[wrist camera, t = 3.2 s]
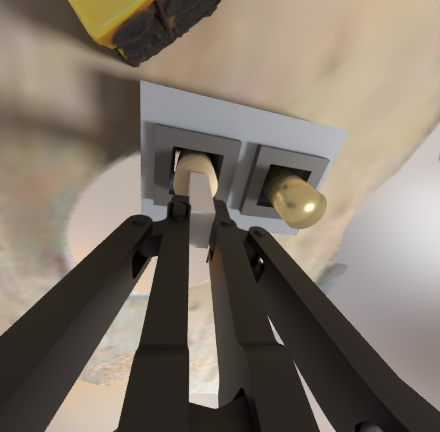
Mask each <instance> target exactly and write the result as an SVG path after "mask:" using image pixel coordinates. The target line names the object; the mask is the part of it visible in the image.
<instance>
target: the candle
mask: <svg viewBox="0 0 440 432" xmlns="http://www.w3.org/2000/svg"><path fill="white" fill-rule="evenodd" d="M68 2H69V4H70V5H71V7H72V8H73V10H74V11H75V13H76V15H77V16H78V18H79V19H80V21H81V23H82V24H83V26H84V28H85V29H86V31H87V32H88V34H89V35H90V36H91V38H92V39H93V40H94V41H95V42H97V43H98V44H99V45H104V46H107V47H109V48H110V49H113V48H114V49H115V50H116V51H117V52H118V55H119V56H121V57H122V59H123V60H124V61H125V62H128V63H129V64H130V65H132V66H133V67H139V65H140V63H141V62H144V61H147V60H148V59H149V58H151V57H152V56H154V55H157V54H158V53H159V52H160V51H161V50H162V49H164V48H165V47H167V46H169V45H170V44H172V43H173V42H174V41H175V40H176V39H177V38H178V37H182V35H183V34H184V33H186V32H188V31H189V29H190V28H191V27H192V26H194V25H195V24H196V23H198V22H199V21H200V20H201V19H202V18H204V17H208V16H211V15H212V13H213V12H214V11H215V10H216V9H217V5H218V4H219V3H220V2H221V0H68Z"/></svg>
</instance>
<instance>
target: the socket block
mask: <svg viewBox="0 0 440 432" xmlns="http://www.w3.org/2000/svg"><path fill="white" fill-rule="evenodd" d="M140 110H141V215H146V216H149V217H150V218H152V220H153V221H161V220H164V219H165V218H166V217H167V205H168V203H169V202H170V201H171V199H172V197H173V196H174V195H176V194H175V192H174V189H173V180H174V175H175V172H174V165H175V153H176V147H181V148H186V149H192V150H197V151H203V152H208V153H214V155H213V161H212V165H213V168H214V172H215V175H216V178H217V182H218V187H217V192H216V194H215V196H214V197H213V199H217V200H223V201H224V202H225V203H226V206H227V209H228V212H229V215H230V218H231V219H232V220H234V221H235V222H236V224H237V227H238V228H240V229H243V230H247V231H248V230H249V228H250V227H252V226H259V227H262V228H264V229H266V230H267V231H268V232H269V233H278V234H288V235H297V233H298V231H299V229H294V228H291V227H289V226H288V225H287V224H286V222H285V221H284V220H283V218H282V217H281V216H280V214H279V213H278V212H277V210H276V209H275V208H274V206H273V205H272V204H271V202H270V201H269V200H268V198H267V197H266V196H265V194H264V193H263V192H262V187H263V184H264V181H265V178H266V175H267V172H268V170H269V167H270V164H275V165H280V166H284V167H286V168H288V169H289V170H290V171H292V172H293V173H294V174H296V175H297V176H298V177H300V178H301V179H302V180H304V181H305V182H306V183H308V184H309V185H310V186H312V187H313V188H314V189H316V190H317V191H318V192H319V190H320V188H321V186H322V184H323V182H324V180H325V178H326V176H327V174H328V172H329V170H330V168H331V166H332V164H333V162H334V160H335V159H336V157H337V155H338V153H339V151H340V149H341V147H342V145H343V143H344V141H345V139H346V137H347V135H348V133H349V131H345V130H341V129H337V128H333V127H329V126H325V125H321V124H317V123H313V122H309V121H305V120H301V119H296V118H292V117H288V116H284V115H280V114H276V113H272V112H268V111H264V110H260V109H256V108H252V107H248V106H243V105H239V104H235V103H231V102H227V101H223V100H219V99H215V98H211V97H207V96H203V95H199V94H195V93H190V92H186V91H182V90H178V89H174V88H170V87H166V86H162V85H158V84H154V83H150V82H146V81H142V80H140Z"/></svg>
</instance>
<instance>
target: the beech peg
mask: <svg viewBox="0 0 440 432" xmlns="http://www.w3.org/2000/svg"><path fill="white" fill-rule="evenodd" d="M191 172H195V173H201V174H207V175H208V177H209V182H210V187H211V192H212V197H214V196H215V194H216V192H217V187H218V182H217V178H216V175H215V172H214V168H213V165H212V162H211V159H210V156H209V154H208V152H203V151H197V150H192V149H186V148H185V149H183V150H182V151H181V153H180V155H179V157H178V162H177V166H176V171H175V175H174V180H173V189H174V192H175V194H176V195H183V196H188V189H189V181H190V174H191Z"/></svg>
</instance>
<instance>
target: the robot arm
mask: <svg viewBox="0 0 440 432" xmlns="http://www.w3.org/2000/svg"><path fill="white" fill-rule="evenodd" d="M208 245H209V246H210V248H209V252H208V257H207V261H206V263H208V260H209V268H210V279H211V290H212V301H213V312H214V323H215V334H216V345H217V355H218V366H219V391H218V402H219V403H218V404H219V408H217V409H213V408H209V407H205V406H201V405H197V404H194V403H190V402H189V349H188V345H187V332H188V282H189V279H188V277H189V247H196V248H208ZM154 256H158V259H157V265H156V269H155V274H154V278H153V283H152V288H151V292H150V297H149V301H148V306H147V311H146V315H145V320H144V325H143V329H142V334H141V339H140V343H139V347H138V349H137V350H136V353H135V356H134V359H133V363H132V367H131V372H130V376H129V381H128V385H127V389H126V394H125V399H124V403H123V408H122V412H121V416H120V421H119V426H118V428H117V429H116V430H115V431H113V432H320V430H319V428H318V425H317V422H316V420H315V417H314V414H313V412H312V409H311V407H310V404H309V401H308V399H307V396H306V394H305V391H304V388H303V385H302V383H301V380H300V377H299V375H298V372H297V370H296V367H295V364H296V366H297V368H298V369H299V371H300V373H301V375H302V376H303V378H304V380H305V382H306V383H307V385H308V387H309V389H310V390H311V392H312V394H313V396H314V397H315V399H316V401H317V403H318V404H319V406H320V408H321V409H322V411H323V413H324V414H325V416H326V417H327V419H328V421H329V422H330V424H331V425H332V426H333V428H334V429H335V431H336V432H440V412H439V411H438V410H437V409H436V408H435V407H433V406H432V405H431V404H430V403H428V402H427V401H426V400H425V399H424V398H423V397H421V396H420V395H419V394H418V393H417V392H415V391H414V390H413V389H412V388H411V387H409V386H408V385H407V384H406V383H405V382H403V381H402V380H401V379H400V378H399V377H398V376H397V375H396V373H395V372H394V371H393V370H392V369H391V368H390V367H389V366H388V365H387V363H386V362H385V361H384V360H383V359H382V358H381V357H380V356H379V354H378V353H377V352H376V351H375V350H374V349H373V348H372V347H371V346H370V345H369V343H368V342H367V341H366V340H365V339H364V338H363V337H362V336H361V334H360V333H359V332H358V331H357V330H356V329H355V328H354V327H353V326H352V324H351V323H350V322H349V321H348V320H347V319H346V318H345V317H344V316H343V314H342V313H341V312H340V311H339V310H338V309H337V308H336V307H335V306H334V305H333V303H332V302H331V301H330V300H329V299H328V298H327V297H326V295H325V294H324V293H323V292H322V291H321V290H320V289H319V288H318V287H317V285H316V284H315V283H314V282H313V281H312V280H311V279H310V278H309V277H308V275H307V274H306V273H305V272H304V271H303V270H302V269H301V268H300V267H299V265H298V264H297V263H296V262H295V261H294V260H293V259H292V258H291V257H290V255H289V254H288V253H287V252H286V251H285V250H284V249H283V248H282V247H281V245H280V244H279V243H278V242H277V241H276V240H275V239H274V238H273V236H272V235H271V234H270V233H269V232H268V231H267V230H266V229H264V228H262V227H259V226H252V227H250V228H249V230H248V231H246V230H243V229H240V228H238V227H237V224H236V222H235V221H234V220H232V219H231V218H230V215H229V212H228V209H227V206H226V203H225V202H224V201H223V200H217V199H213V197H212V192H211V187H210V182H209V177H208V175H207V174H201V173H195V172H191V174H190V181H189V189H188V196H183V195H174V196H173V197H172V199H171V201H170V202H169V203H168V205H167V217H166V218H165V219H164V220H161V221H153V220H152V218H150V217H149V216H146V215H133V216H130V217H129V218H127V219H126V220H125V221H124V222H123V223H122V224H121V225H120V226H119V227H118V228H117V229H115V230H114V231H113V232H112V233H111V234H110V235H109V236H108V237H107V238H106V239H105V240H104V241H103V242H102V243H101V244H99V245H98V246H97V247H96V248H95V249H94V250H93V251H92V252H91V253H90V254H89V255H87V257H85V258H84V259H83V260H82V261H81V262H80V263H79V264H78V265H77V266H76V267H75V268H73V269H72V270H71V271H70V272H69V273H68V274H67V275H66V276H65V277H64V278H63V279H62V280H61V281H59V282H58V283H57V284H56V285H55V286H54V287H53V288H52V289H51V290H50V291H49V292H48V293H47V294H45V295H44V296H43V297H42V298H41V299H40V300H39V301H38V302H37V303H36V304H35V305H34V306H33V307H31V308H30V309H29V310H28V311H27V312H26V313H25V314H24V315H23V316H22V317H21V318H20V319H19V320H17V321H16V322H15V323H14V324H13V325H12V326H11V327H10V328H9V329H8V330H7V331H6V332H4V333H3V334H2V335H1V336H0V432H44V431H45V430H46V428H47V426H48V425H49V423H50V422H51V420H52V419H53V417H54V415H55V414H56V412H57V411H58V409H59V407H60V406H61V404H62V402H63V401H64V399H65V398H66V396H67V394H68V393H69V391H70V390H71V388H72V386H73V385H74V383H75V382H76V380H77V378H78V377H79V375H80V374H81V372H82V370H83V369H84V367H85V365H86V364H87V362H88V361H89V359H90V357H91V356H92V354H93V353H94V351H95V349H96V348H97V346H98V345H99V343H100V341H101V340H102V338H103V336H104V335H105V333H106V332H107V330H108V328H109V327H110V325H111V324H112V322H113V320H114V319H115V317H116V316H117V314H118V312H119V311H120V309H121V307H122V306H123V304H124V303H125V301H126V299H127V298H128V296H129V295H130V293H131V291H132V290H133V288H134V287H135V285H136V283H137V282H138V280H139V278H140V277H141V275H142V274H143V272H144V270H145V269H146V267H147V266H148V264H149V262H150V261H151V258H152V257H154ZM260 259H262V260H263V263H262V262H261V261H260ZM267 315H268V316H267ZM268 317H269V319H270V320H271V322H272V324H273V326H274V327H275V329H276V331H277V333H278V334H279V336H280V338H281V340H282V341H283V343H284V345H285V346H284V345H282V344H279V343H278V342H277V341H276V339H275V337H274V334H273V331H272V328H271V325H270V322H269V319H268ZM293 361H294V362H295V364H294V362H293Z"/></svg>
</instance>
